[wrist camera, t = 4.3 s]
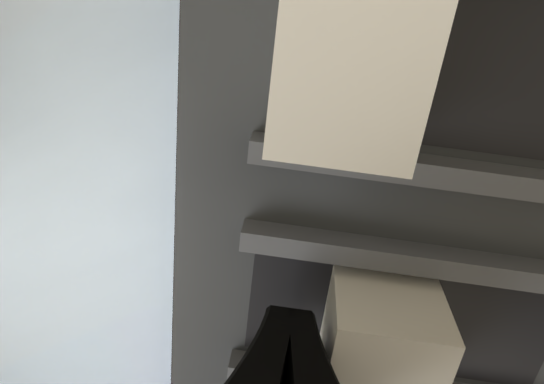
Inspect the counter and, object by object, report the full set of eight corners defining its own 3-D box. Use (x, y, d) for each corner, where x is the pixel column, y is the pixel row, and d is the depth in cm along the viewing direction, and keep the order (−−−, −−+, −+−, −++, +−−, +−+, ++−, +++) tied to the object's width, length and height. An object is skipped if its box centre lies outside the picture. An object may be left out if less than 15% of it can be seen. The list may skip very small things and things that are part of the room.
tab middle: (315, 353, 15) (315, 430, 13) (333, 263, 14) (337, 329, 11) (409, 367, 15) (427, 447, 13) (437, 277, 14) (466, 347, 11)
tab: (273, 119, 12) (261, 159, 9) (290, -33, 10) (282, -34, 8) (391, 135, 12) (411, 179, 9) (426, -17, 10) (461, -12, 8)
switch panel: (178, 462, 20) (162, 517, 18) (198, -102, 11) (172, -118, 9) (502, 512, 20) (524, 575, 18) (790, -32, 11) (899, -33, 9)
